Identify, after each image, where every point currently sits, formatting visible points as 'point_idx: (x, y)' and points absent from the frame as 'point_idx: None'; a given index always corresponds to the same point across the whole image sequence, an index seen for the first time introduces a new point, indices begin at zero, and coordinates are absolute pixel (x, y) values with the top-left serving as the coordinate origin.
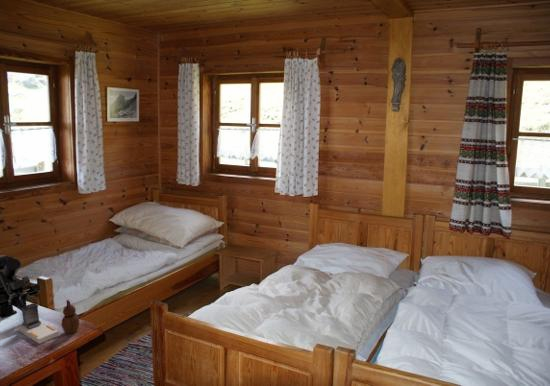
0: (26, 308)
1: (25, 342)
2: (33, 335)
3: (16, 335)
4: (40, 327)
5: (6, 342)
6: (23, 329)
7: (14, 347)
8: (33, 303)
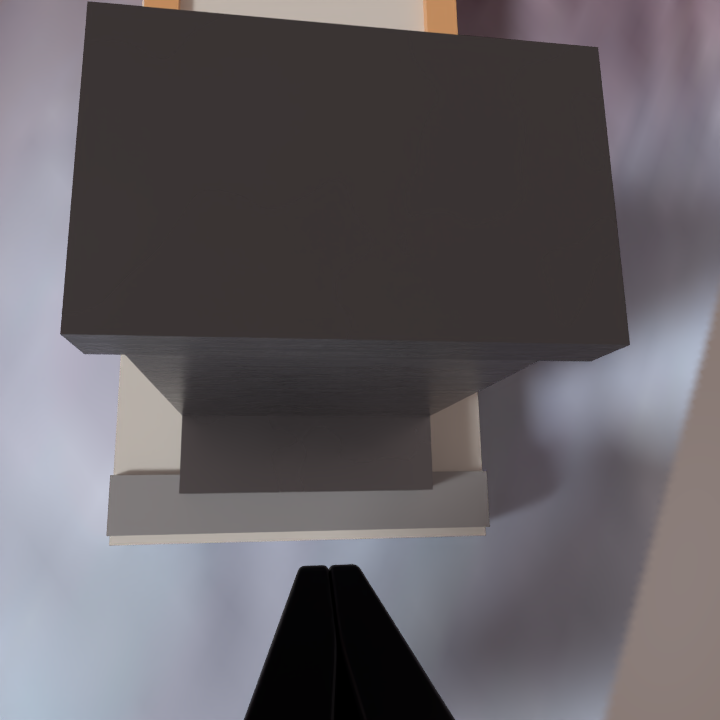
0: (517, 90)
1: None
2: (454, 4)
3: (536, 382)
4: None
5: (693, 297)
6: None
7: (662, 96)
8: (112, 286)
